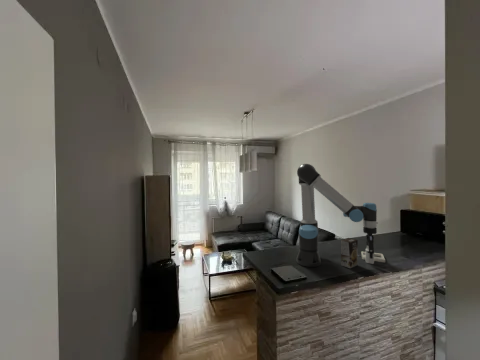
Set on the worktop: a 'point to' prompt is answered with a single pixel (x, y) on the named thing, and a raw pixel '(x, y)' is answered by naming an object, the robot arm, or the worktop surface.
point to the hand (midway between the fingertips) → (370, 259)
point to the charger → (367, 256)
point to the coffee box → (349, 252)
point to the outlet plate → (374, 257)
